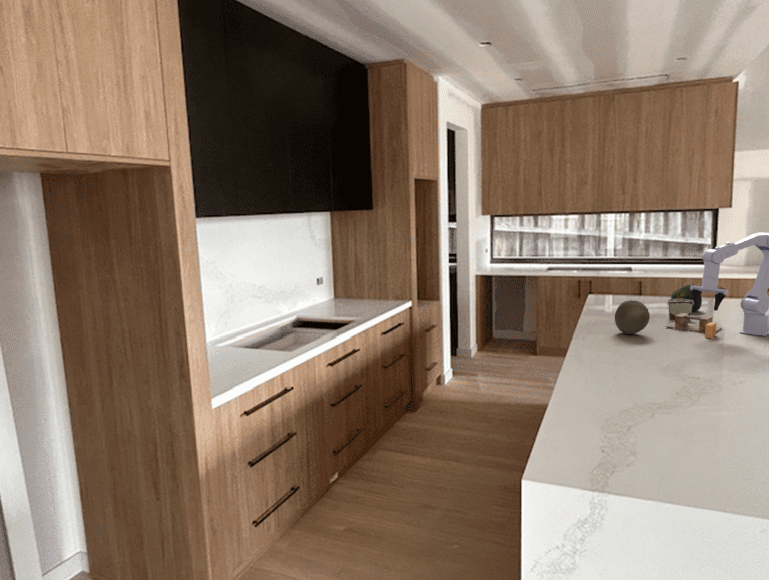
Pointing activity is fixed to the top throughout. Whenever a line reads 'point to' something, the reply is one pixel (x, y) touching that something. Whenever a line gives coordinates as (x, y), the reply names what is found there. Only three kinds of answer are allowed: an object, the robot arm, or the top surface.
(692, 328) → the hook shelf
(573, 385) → the top surface
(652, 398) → the top surface
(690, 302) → the food container
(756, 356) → the top surface
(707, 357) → the top surface
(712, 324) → the orange step-cut beam
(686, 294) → the squash
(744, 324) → the robot arm
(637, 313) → the cantaloupe
